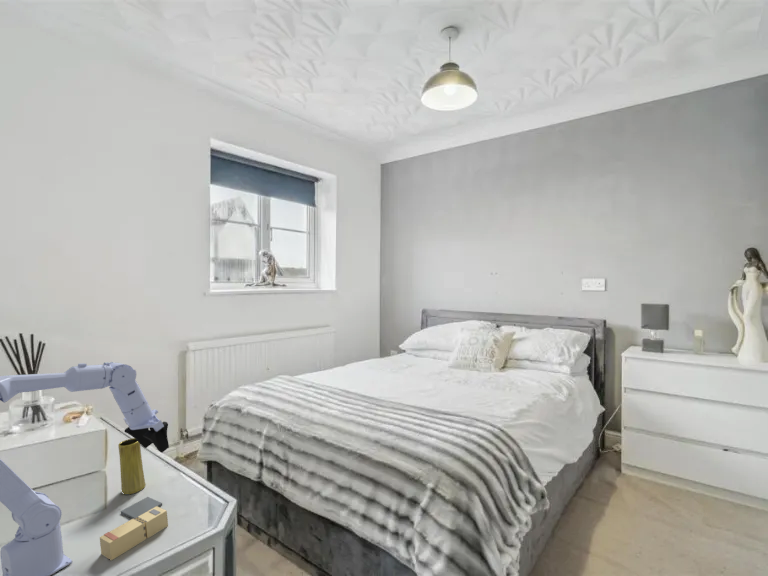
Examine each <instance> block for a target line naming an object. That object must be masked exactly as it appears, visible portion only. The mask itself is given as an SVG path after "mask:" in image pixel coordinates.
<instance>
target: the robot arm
mask: <svg viewBox="0 0 768 576" xmlns="http://www.w3.org/2000/svg"><path fill="white" fill-rule="evenodd" d="M136 379H137V369H134V368H133V367H132V366H130V365H128V364H125V363H122V362H121V363H120V362H113V361H111V362H110V361H109V362H103V364H90V365H88V364H87V362H86V363H85V362H79V363H77V365H76V366H71V367H70V368H68V369H67V370H66V371H64V372H53V373H52V372H51V373H33V374H32V373H30V374H12V375H11V374H10V375H0V402H2V403H4V404H6V402H8V401H9V400H11V399H12V398H14V397H16V395H18V394H22V393H28V392H36V391H44V390H49V389H50V390H51V389H59V388H60V389H61V388H65V389H66V390H67V391H69V392H70V393H73V392H82V391H91V390H92V391H93V390H102V389H105V388H107V387H108V388H109V390H110V392H111V393H112V397H113V399H114V401H116V402H115V403H116V404H117V405H118V407H119V409H120V411H121V413H122V415H123V420H124V422H125V424H126V425H128V427H127V428H125V429H124V433H125V434H128V435H129V436H131V437H132V438H135V439H136V440H137V441H138V442H139V443H140V446H141V447H143V448H144V449H147V448H148V447H149V446H151V445H152V444H153V446H154V447H155V448H156V450H158V452H160V453H164V452H165V451H167V449H169V448H170V447H169V446H170V444H169V439H168V427H169V423H168V422H167V421H162V419H159V418H158V417H157V414H158V413H159V410H158V409H155V408H154V409H152V407H151V406H150V404H149V402H148V400H147V398H146V397H145V395H144V392H143V390H142V389H141V387H140V385H139V384H138V382H137V380H136ZM0 503H1V504H2V505H4V506H5V508H6V509H8V511H10V513H11V518H12V520H13V521H14V522H15V523H16V524H17V525H18V527H17V529H16V532H15V534H14V538H13V539H12V540H10V542H8V543H6V544H4V545H2V547H0V563H1V573H2V576H51V575H53V574H55V573H56V572H58V571H60V570H61V569H64V568H66V567H67V566H69V565H71V564H72V563H73V559H71V558H70V557H69V556H67V555H65V553H64V546H63V545H64V544H63V540H62V539H63V538H62V537H63V536H62V529H61V527H62V526H61V518H62V515H63V514H62V508H61V507H60V506H59V505H57V504H56V503H54V502H53V501H52V500H51V499H50V497H49V496H48V495H47V494H46V493H43V492H40V491H39V492H38V491H35V490H34V489H32V488H31V487H30V486H29V485H28V483H26V482H25V481H24V480H23V479H22V478H21V477H20V476H19V475H18V474H17V473H16V472H15V471H14V470H12V469H11V468H10V466H8V464H7V463H5V462H4V460H3V459H1V458H0Z"/></svg>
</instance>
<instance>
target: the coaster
mask: <svg viewBox="0 0 768 576" xmlns="http://www.w3.org/2000/svg"><path fill="white" fill-rule="evenodd" d="M156 506H157V507H160V508H161V507H162V506H163V502H160V501H159V500H156V499H154V498H151V497H149V496H146V497H144V498H142V499H141V500H139V501H137V502H135V503H133V504H132V505H129V506H128V507H126V508H124V509H121V511H120V513H121V514H122V515H124V516H126V517H128V518H130V520H132V519H133V518H136V517H138V516H140V515H142V514H144V513H145V512H147V511H149V510H151V509H153V508H154V507H156Z"/></svg>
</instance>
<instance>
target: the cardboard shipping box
mask: <svg viewBox="0 0 768 576" xmlns="http://www.w3.org/2000/svg"><path fill="white" fill-rule="evenodd" d="M146 540H147V538H146V531H145V523H144V522H142V521H140V520H138V519H136V518H133V519H130V520H128V521H126V522H125V523H123V524H121V525H119V526H117V527H115V528H113V529H112V530H109V531H107V532H105V533H103V535H101V536H99V544H100V552H101V554H100V555H102V556H103V557H105V558H107V559H108V560H109V559H110V560H109V561H111V562H112V561H113V560H115V559H116V558H118V557H120V556H121V555H123V554H125V553H127V552H128V551H130V550H131V549H133V548H134V547H136V546H138V545H139V544H141V543H142V542H144V541H146Z"/></svg>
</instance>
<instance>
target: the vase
mask: <svg viewBox="0 0 768 576" xmlns="http://www.w3.org/2000/svg"><path fill="white" fill-rule="evenodd" d="M118 454H119V465H120V466H119V467H120V483H121V488H120V489H121V490H122V492H123V493H124V494H129V495H133V494H135V493H136V494H137V493H138V492H140V491H142V490H143V489H144V488H145V487H146V485H147V483H146V480H145V475H144V473H145V472H144V468H143V460H142V451H141V444H140V443H139V442H138V441H137V440H136V439H135V438H134V437H132V438H129V439H125V440H122V441H121V442H119V444H118ZM124 494H123V495H124Z"/></svg>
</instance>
